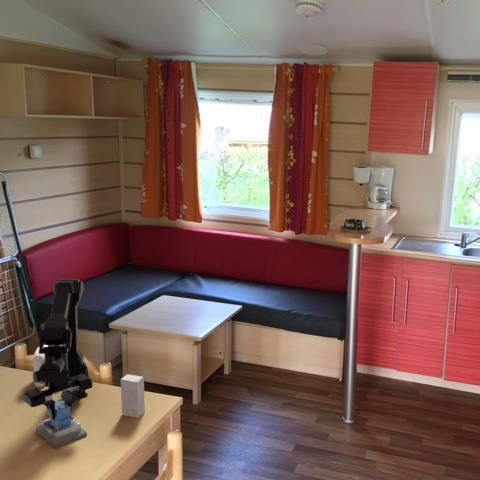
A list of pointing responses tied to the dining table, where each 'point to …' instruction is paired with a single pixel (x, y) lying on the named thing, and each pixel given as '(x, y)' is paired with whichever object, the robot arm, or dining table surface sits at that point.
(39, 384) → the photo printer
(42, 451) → the dining table surface
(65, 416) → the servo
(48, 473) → the dining table surface
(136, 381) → the skincare box
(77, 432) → the grey shallow tray
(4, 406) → the dining table surface
